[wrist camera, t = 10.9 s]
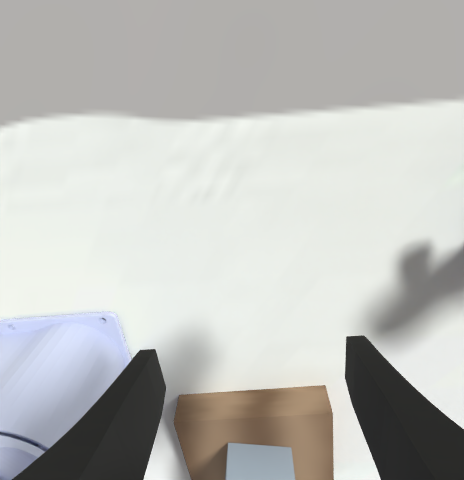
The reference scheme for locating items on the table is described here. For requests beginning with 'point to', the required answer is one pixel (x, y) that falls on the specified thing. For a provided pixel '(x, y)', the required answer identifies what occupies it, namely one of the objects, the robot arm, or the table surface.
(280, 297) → the table surface
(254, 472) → the slate cube
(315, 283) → the table surface
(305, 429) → the walnut block
